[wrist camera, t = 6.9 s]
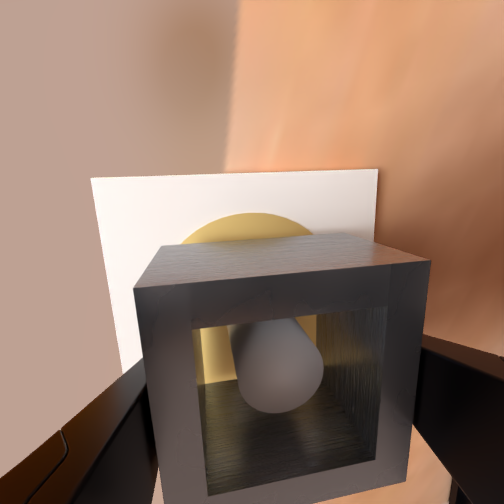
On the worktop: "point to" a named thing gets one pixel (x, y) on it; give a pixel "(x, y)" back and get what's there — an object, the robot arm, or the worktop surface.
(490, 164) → the worktop surface
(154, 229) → the post base
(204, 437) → the grey hollow square box
